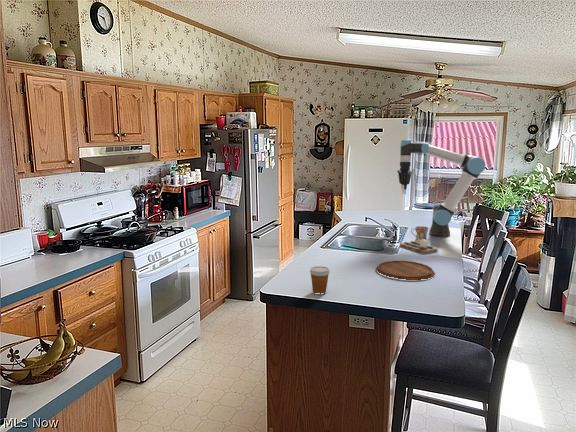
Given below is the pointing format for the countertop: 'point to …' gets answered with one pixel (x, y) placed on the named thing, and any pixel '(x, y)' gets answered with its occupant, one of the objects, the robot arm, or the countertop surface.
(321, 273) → the beer glass
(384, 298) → the countertop surface
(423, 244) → the fader knob
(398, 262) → the cutting board
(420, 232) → the mug
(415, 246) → the wooden tray
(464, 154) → the robot arm
